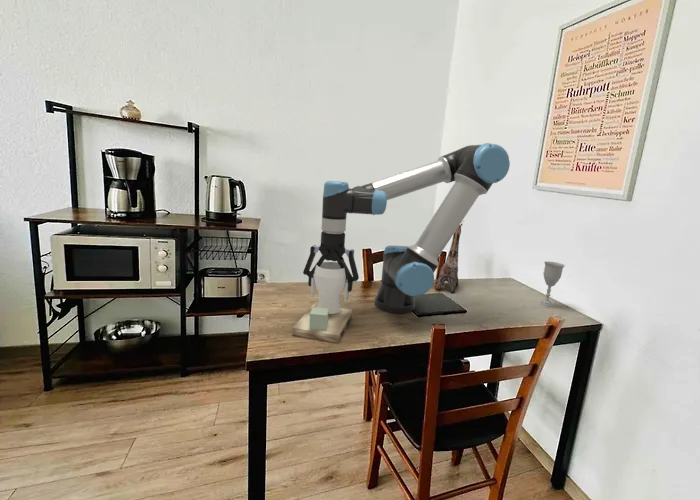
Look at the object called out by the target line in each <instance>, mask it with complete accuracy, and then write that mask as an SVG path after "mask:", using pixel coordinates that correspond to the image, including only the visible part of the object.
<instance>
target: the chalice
mask: <svg viewBox="0 0 700 500" xmlns="http://www.w3.org/2000/svg"><path fill="white" fill-rule="evenodd" d="M543 263H544V269H543V272H542V273H543V279H544V282H545V285H547V286H548V287H547V289H546V293H545V299H544V298H543V299H542V300H541V301H540V302H539V304H538V306H539V307H541V308H545V309H553V308H554V307H553V304H552V301H551V300H550V296H551V292H552V290H551V289H552V287H555V286H556V284H557V283H558V282H559V280H560V279H561V278H562V274H563V269H564V268H565V266H566V265H565V264H563V263H560V262H557V261H556V262H554V261H548V260H547V261H544V262H543Z"/></svg>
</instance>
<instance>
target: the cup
mask: <svg viewBox="0 0 700 500" xmlns="http://www.w3.org/2000/svg"><path fill="white" fill-rule="evenodd" d="M315 265H316V264H315ZM314 280H315V284H316V289H317V292H318V301H317V304H318V305H317V308H328V309H329V314H335V313H338V312H340V310H341V308H342V307H341V295H342V292H343V290H345V283H346V281H347V278H346V275H345V268H343V269H341V267H340V265H339V264H338V262H337V261H336V262H335V261H323V263H322V264H321V265H320V267H318V266H317V265H316V268H315V271H314Z"/></svg>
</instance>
